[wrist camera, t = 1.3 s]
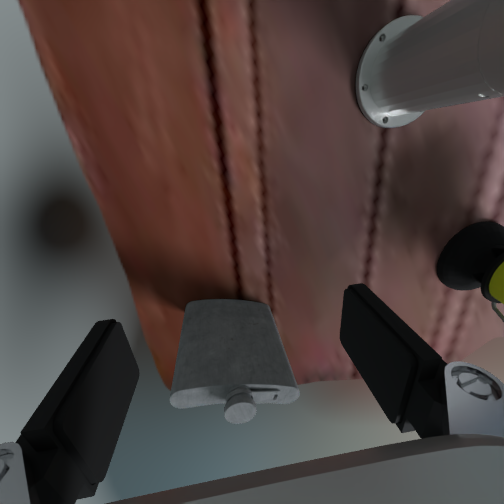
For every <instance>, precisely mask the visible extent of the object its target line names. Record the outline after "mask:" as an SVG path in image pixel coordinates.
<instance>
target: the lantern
mask: <svg viewBox="0 0 504 504" xmlns="http://www.w3.org/2000/svg"><path fill="white" fill-rule="evenodd" d="M437 274H438V277H439V279H440V280H441V282H442V283H443V284H445V285H446V286H447V287H450V288H452V289H455V290H472V289H476V288H479V287H481V292H482V294H483V296H484V297H485V298H486V299H488V300H489V301H491V302H492V303H491V304H492V309H493V310H494V311H495V312H496V313H497V315H498V316H499V317H500V318H501V319H502V321H503V322H504V316H503V315H502V314H501V312H500V311H499V310H498V309H497V307H496V303H503V304H504V227H503V226H502V225H500V224H498V223H494V222H479V223H475V224H473V225H470V226H468V227H466V228H464V229H463V230H461V231H460V232H459V233H457V234H456V235H455V236H454V237H453V238H452V239H451V240H450V241H449V242H448V243H447V245H446V246H445V247H444V249H443V251H442V253H441V255H440V257H439V260H438V265H437Z"/></svg>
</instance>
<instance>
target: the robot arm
mask: <svg viewBox="0 0 504 504" xmlns="http://www.w3.org/2000/svg"><path fill="white" fill-rule="evenodd" d="M362 88H363V90H362ZM356 96H357V100H358V104H359V106H360V109H361V111H362V113H363V114H364V116H365V117H366V118H367V119H368V120H369V121H370V122H371V123H373V124H375V125H376V126H379V127H383V128H395V127H401V126H404V125H407V124H409V123H411V122H412V121H414V120H416V119H417V118H418V117H419V116H421V115H422V114H423V113H424V112H425V111H426V110H430V109H436V108H441V107H447V106H452V105H458V104H464V103H469V102H475V101H480V100H486V99H491V98H497V97H503V96H504V0H451V1H449V2H447V3H446V4H444V5H443V6H441V7H439V8H438V9H436V10H435V11H433V12H431V13H430V14H428V15H427V16H425V17H422V16H419V15H407V16H402V17H400V18H397V19H395V20H393V21H391V22H390V23H389V24H387V25H386V26H384V27H383V28H382V29H381V30H380V31H378V32H377V33H376V34H375V36H374V37H373V38H372V39H371V41H370V42H369V44H368V45H367V47H366V49H365V50H364V52H363V55H362V57H361V60H360V62H359V66H358V70H357V75H356ZM340 341H341V344H342V346H343V347H344V349H345V350H346V352H347V354H348V355H349V357H350V358H351V360H352V362H353V363H354V365H355V366H356V368H357V370H358V371H359V373H360V374H361V376H362V378H363V379H364V381H365V382H366V384H367V385H368V387H369V389H370V390H371V392H372V394H373V395H374V397H375V398H376V400H377V402H378V403H379V405H380V406H381V408H382V410H383V411H384V413H385V414H386V416H387V418H388V419H389V421H390V422H391V423H396V425H397V427H398V428H399V430H400V431H401V433H404V432H410V431H415V430H416V432H417V433H418V435H419V436H420V438H422V439H418V440H412V441H406V442H401V443H395V444H390V445H384V446H379V447H374V448H369V449H364V450H360V451H355V452H349V453H344V454H339V455H334V456H330V457H324V458H319V459H314V460H310V461H305V462H300V463H295V464H290V465H286V466H281V467H276V468H271V469H266V470H261V471H256V472H252V473H247V474H242V475H237V476H233V477H227V478H223V479H218V480H213V481H208V482H204V483H199V484H194V485H189V486H185V487H180V488H176V489H171V490H166V491H161V492H157V493H153V494H147V495H143V496H138V497H133V498H129V499H124V500H119V501H115V502H111V503H107V504H504V384H503V383H502V382H501V381H500V380H499V379H498V378H497V377H495V376H494V375H493V374H491V373H490V372H488V371H486V370H484V369H483V368H481V367H478V366H476V365H473V364H470V363H465V362H452V363H449V364H447V363H446V362H444V361H443V360H442V357H441V356H440V355H439V354H438V353H437V352H436V351H435V350H433V349H432V348H431V347H430V346H429V345H428V344H427V343H426V342H425V341H424V340H423V339H422V338H421V337H420V336H419V335H418V334H417V333H415V332H414V331H413V330H412V329H411V328H410V327H409V326H408V325H407V324H406V323H405V322H404V321H403V320H402V319H401V318H400V317H399V316H397V315H396V314H395V313H394V312H393V311H392V310H391V309H390V308H389V307H388V306H387V305H386V304H385V303H384V302H383V301H382V300H381V299H380V298H378V297H377V296H376V295H375V294H374V293H373V292H372V291H371V290H370V289H369V288H368V287H367V286H366V285H365V284H363V283H360V284H353V285H349V286H348V288H347V289H345V290H344V298H343V308H342V318H341V328H340ZM138 379H139V368H138V365H137V363H136V360H135V358H134V355H133V353H132V350H131V348H130V345H129V342H128V340H127V337H126V335H125V332H124V330H123V327H122V325H121V323H120V322H116V320H115V319H110V320H103V321H98V322H96V323H95V325H94V326H93V328H92V329H91V331H90V332H89V333H88V335H87V336H86V338H85V339H84V341H83V342H82V344H81V345H80V347H79V348H78V349H77V351H76V352H75V354H74V355H73V357H72V358H71V360H70V361H69V362H68V364H67V365H66V367H65V368H64V370H63V371H62V373H61V374H60V376H59V377H58V379H57V380H56V381H55V383H54V384H53V386H52V387H51V389H50V390H49V392H48V393H47V395H46V396H45V397H44V399H43V400H42V402H41V403H40V405H39V406H38V408H37V409H36V410H35V412H34V413H33V415H32V416H31V418H30V419H29V421H28V422H27V424H26V425H25V427H24V428H23V430H22V431H21V435H20V437H19V438H18V440H17V441H16V443H14V442H8V443H3V444H0V504H75V502H76V500H77V499H82V498H87V497H92V496H94V495H95V492H96V489H97V487H98V484H99V482H102V481H103V480H104V478H105V476H106V473H107V470H108V467H109V464H110V462H111V458H112V455H113V453H114V450H115V447H116V444H117V441H118V438H119V435H120V432H121V429H122V426H123V423H124V420H125V417H126V414H127V411H128V408H129V405H130V402H131V399H132V396H133V394H134V391H135V388H136V385H137V382H138Z"/></svg>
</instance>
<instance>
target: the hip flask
mask: <svg viewBox="0 0 504 504" xmlns="http://www.w3.org/2000/svg"><path fill="white" fill-rule="evenodd" d="M299 395H300V392H299V389H298V386H297V383H296V380H295V377H294V375H293V372H292V369H291V366H290V363H289V361H288V358H287V355H286V352H285V349H284V346H283V344H282V341H281V338H280V335H279V332H278V330H277V327H276V324H275V321H274V318H273V315H272V313H271V310H270V307H269V306H268V305H267V304H263V303H258V302H253V301H246V300H234V299H208V300H197V301H191V302H189V303H188V304H187V305H186V308H185V314H184V320H183V325H182V331H181V337H180V343H179V348H178V354H177V360H176V366H175V371H174V377H173V383H172V389H171V394H170V403H171V404H172V405H173V406H174V407H176V408H181V409H184V408H190V407H196V406H202V405H210V404H221V403H226V405H225V407H224V412H225V418H226V420H227V421H229V422H231V423H234V424H241V423H245V422H247V421H249V420H251V419H252V418H254V416H255V414H256V412H257V411H256V410H257V409H256V404H257V403H278V404H289V403H292V402H294V401H295V400H296V399H297V398H298V397H299Z"/></svg>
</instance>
